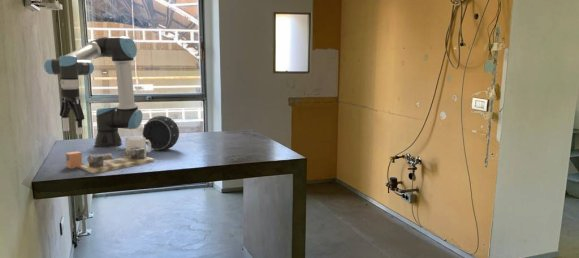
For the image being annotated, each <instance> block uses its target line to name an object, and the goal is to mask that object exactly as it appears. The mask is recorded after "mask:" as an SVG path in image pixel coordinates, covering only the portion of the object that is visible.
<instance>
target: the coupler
mask: <svg viewBox="0 0 579 258" xmlns="http://www.w3.org/2000/svg"><path fill="white" fill-rule="evenodd" d="M65 163H66V168H68V169H75V167H77V168H79V165H83V157H82V152H80V151H69V152H65Z"/></svg>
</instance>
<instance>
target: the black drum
mask: <svg viewBox="0 0 579 258" xmlns="http://www.w3.org/2000/svg"><path fill="white" fill-rule="evenodd" d="M142 137H145V138H146V140H149V141H150V143H151V150H155V151H158V152H162V151H163V152H164V151H167V150H169V149H171V148H173V147H174V146H175V145H176V143H177V142H178V140H179V137H180V130H179V126H178V124H177V123H176V122H175V120H173V119H172V118H171V117H168V116H165V115H157V116H154V117H152V118H149V119H148V120H147V121H146V123H144V124H143V130H142ZM146 146H148V143H147V142H146Z"/></svg>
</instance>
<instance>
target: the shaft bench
mask: <svg viewBox="0 0 579 258" xmlns="http://www.w3.org/2000/svg"><path fill="white" fill-rule="evenodd" d="M144 153H145V149H144V148H131V150H127V151H126V150H122V152H121V154H122V157H119V158H113V154H112V153H111V152H110V153H105V154H98V153H96V154H95V153H94V154H90V155H88V156H87V158H86V161H87V163H85V164H82V165H79V167H78V168H79V170H82V169H83V171H84V172H85V171H86V172H89V173H90V174H93V173H94V174H99V173H104V172H109V171H113V170H119V169H123V168H129V167H134V166H140V165H142V164H143V165H144V164H149V163H154V162H155V159H154V158H152V157H148V156H146V157H145V156H144ZM127 156H129V157H127ZM98 172H99V173H98Z"/></svg>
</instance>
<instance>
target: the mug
mask: <svg viewBox="0 0 579 258" xmlns="http://www.w3.org/2000/svg"><path fill="white" fill-rule="evenodd" d="M146 142H147V143H148V145H147V144H146ZM147 146H148V149H147ZM131 148H144V149H145V153H144V156H145V157H147V154H149V153H151V151H152V149H151V143H150V141H149V140H146V138H145V137H143V136H129V137H126V138H125V151H127V150H131ZM127 157H129V156H127Z"/></svg>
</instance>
